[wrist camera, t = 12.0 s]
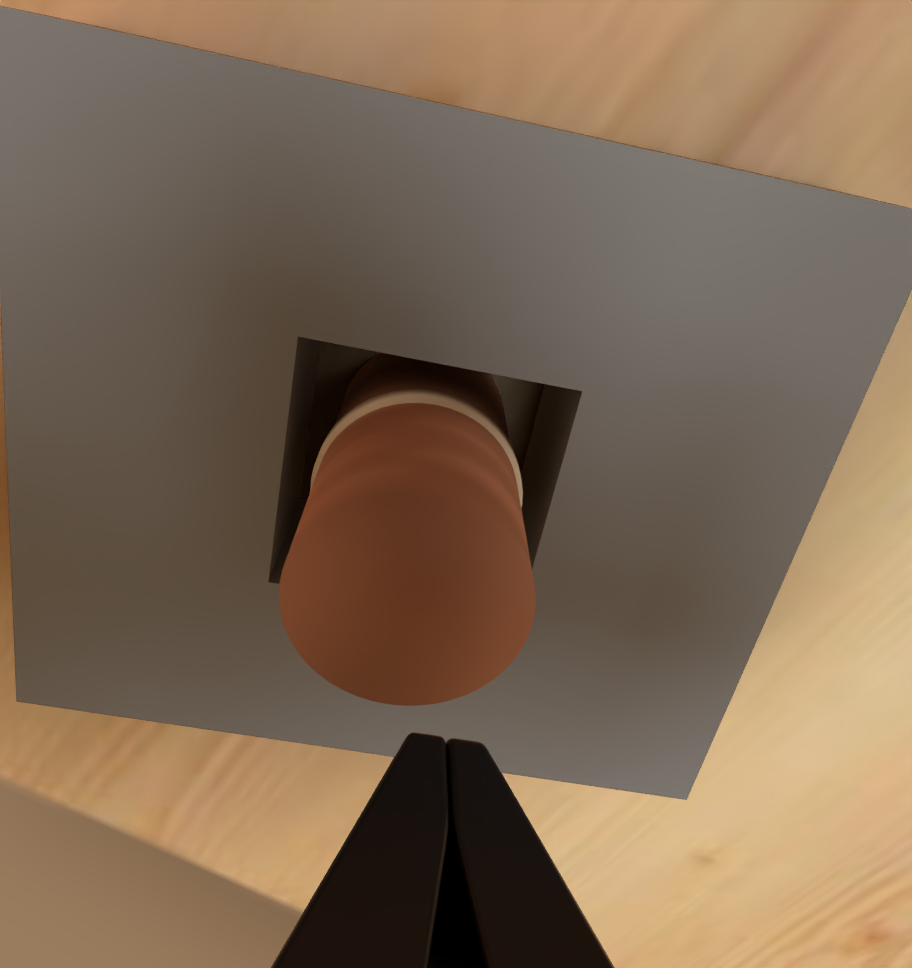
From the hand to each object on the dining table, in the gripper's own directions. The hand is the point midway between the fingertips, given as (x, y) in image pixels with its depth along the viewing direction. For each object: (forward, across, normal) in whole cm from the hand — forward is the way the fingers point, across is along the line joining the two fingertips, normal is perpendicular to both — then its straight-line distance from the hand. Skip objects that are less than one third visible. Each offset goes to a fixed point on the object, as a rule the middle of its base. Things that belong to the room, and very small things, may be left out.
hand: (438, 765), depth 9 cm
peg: (+12, 0, +1) cm, 12 cm away
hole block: (+12, 0, +1) cm, 12 cm away
